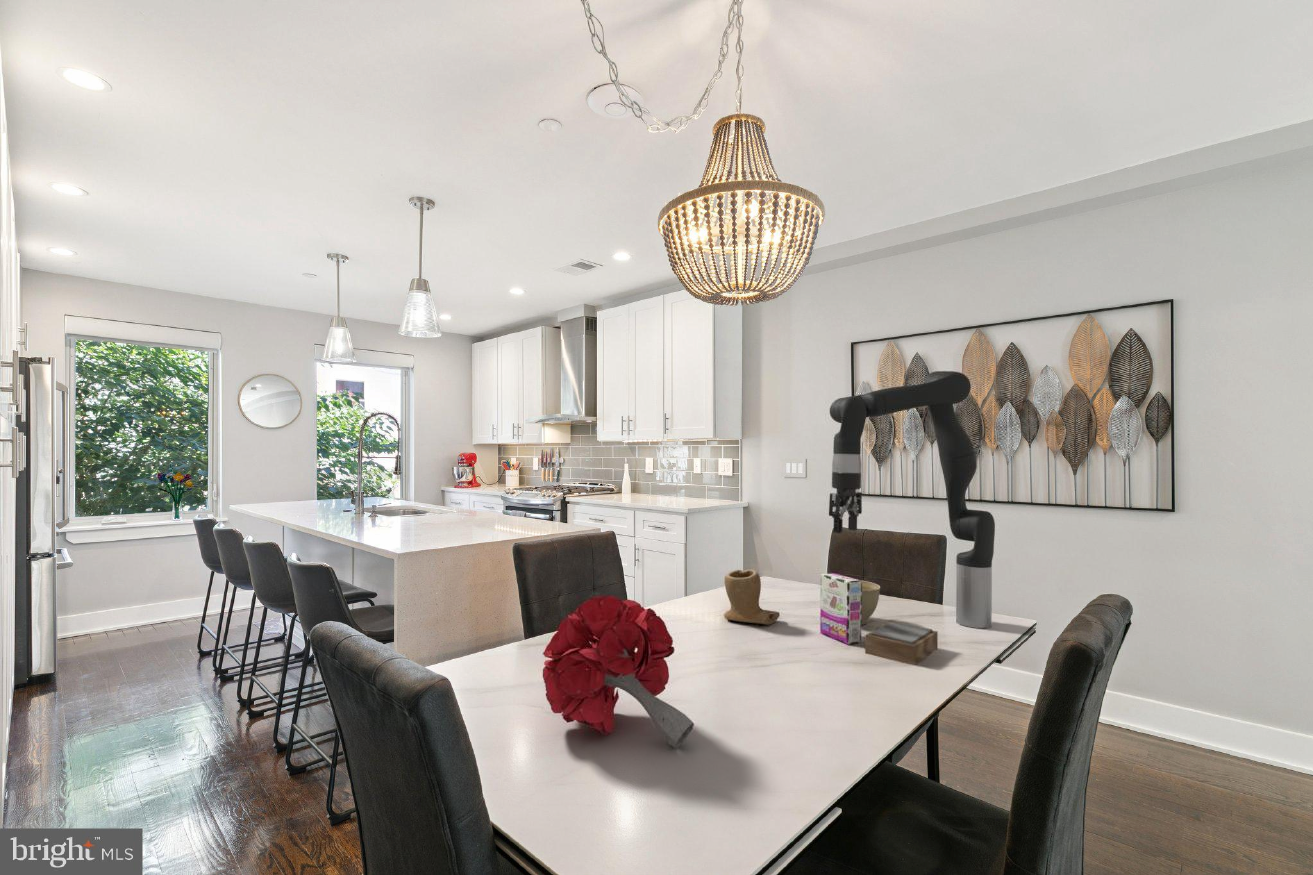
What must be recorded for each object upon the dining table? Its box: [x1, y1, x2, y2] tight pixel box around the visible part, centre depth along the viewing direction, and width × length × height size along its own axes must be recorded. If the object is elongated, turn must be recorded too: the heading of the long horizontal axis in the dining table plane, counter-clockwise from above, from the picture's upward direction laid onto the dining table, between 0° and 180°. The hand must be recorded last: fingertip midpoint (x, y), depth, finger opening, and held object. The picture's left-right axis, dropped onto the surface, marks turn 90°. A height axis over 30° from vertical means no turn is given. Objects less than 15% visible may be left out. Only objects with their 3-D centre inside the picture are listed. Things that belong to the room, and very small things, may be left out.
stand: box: [864, 621, 939, 666], centre depth 154 cm, size 16×12×5 cm
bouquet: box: [542, 595, 695, 749], centre depth 110 cm, size 22×24×30 cm
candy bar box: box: [819, 572, 863, 645], centre depth 164 cm, size 11×5×16 cm, turn 25°
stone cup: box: [723, 568, 781, 626], centre depth 178 cm, size 15×12×15 cm
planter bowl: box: [861, 580, 881, 626], centre depth 180 cm, size 16×16×11 cm
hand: (845, 531), depth 164 cm, fingers open, 8 cm apart
